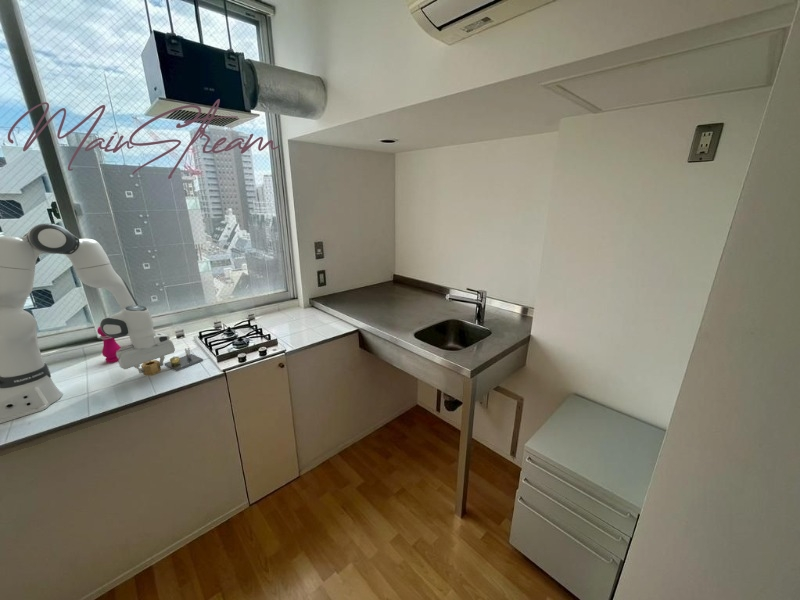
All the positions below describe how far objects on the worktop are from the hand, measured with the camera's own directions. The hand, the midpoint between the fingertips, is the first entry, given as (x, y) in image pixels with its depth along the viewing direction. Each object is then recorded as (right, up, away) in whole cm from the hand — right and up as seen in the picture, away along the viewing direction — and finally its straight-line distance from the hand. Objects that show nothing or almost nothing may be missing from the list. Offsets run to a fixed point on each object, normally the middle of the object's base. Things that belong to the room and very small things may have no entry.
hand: (151, 369), depth 143 cm
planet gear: (0, -2, 0) cm, 2 cm away
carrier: (+9, +1, +9) cm, 12 cm away
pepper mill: (-28, +2, +12) cm, 30 cm away
